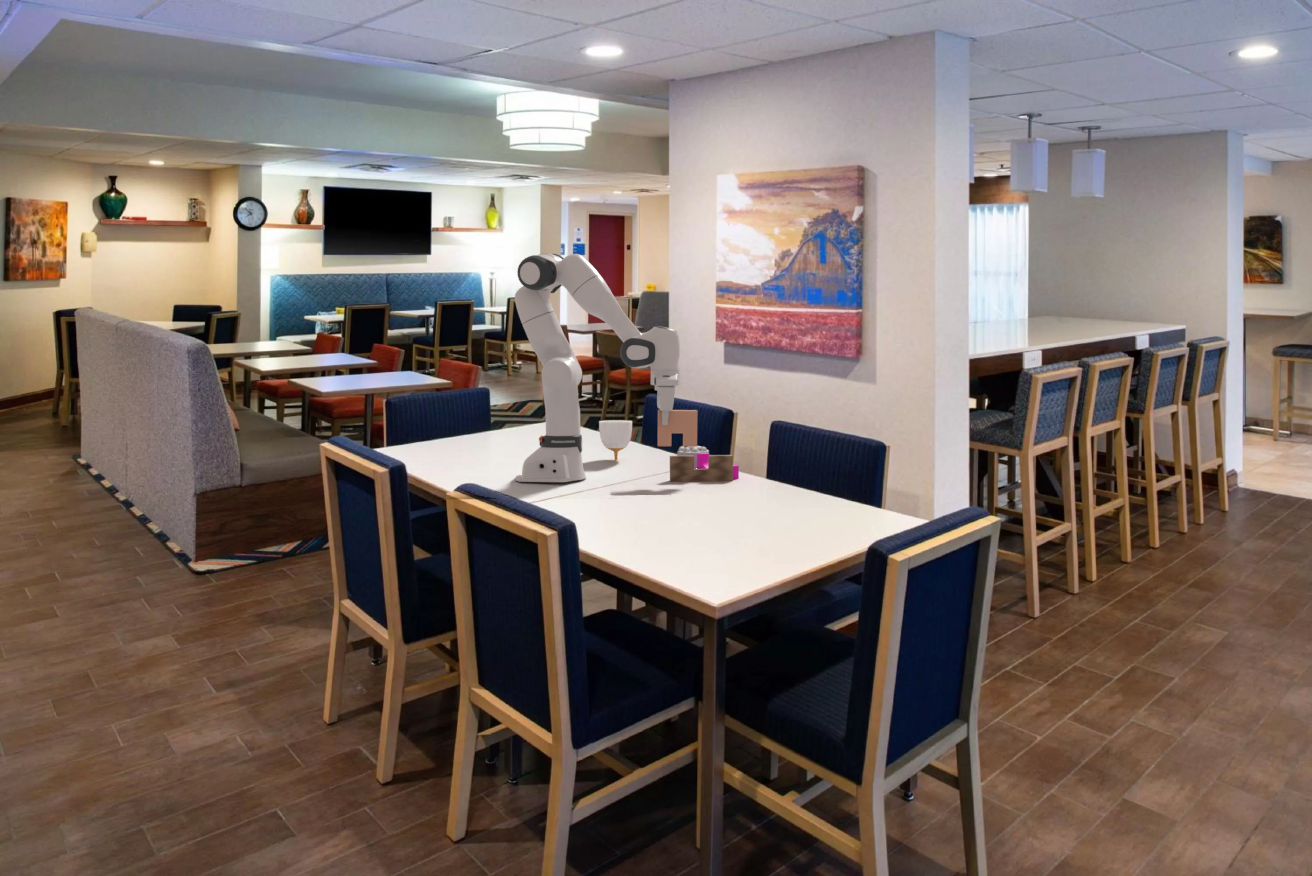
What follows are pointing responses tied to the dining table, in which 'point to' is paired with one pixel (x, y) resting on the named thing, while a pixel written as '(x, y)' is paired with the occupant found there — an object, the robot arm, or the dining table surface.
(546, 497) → the dining table surface
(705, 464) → the toy block
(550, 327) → the robot arm
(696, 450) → the lumpy-topped squat cylinder
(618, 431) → the cup
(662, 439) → the tan notched block
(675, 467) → the walnut rail
